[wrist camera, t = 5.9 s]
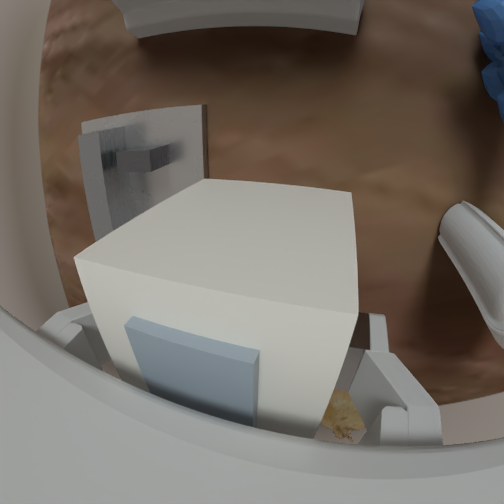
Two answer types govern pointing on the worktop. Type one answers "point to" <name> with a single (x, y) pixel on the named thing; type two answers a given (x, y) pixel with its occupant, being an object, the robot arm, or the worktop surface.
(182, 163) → the rail base
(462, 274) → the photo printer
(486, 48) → the grapes
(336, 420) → the onion
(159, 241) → the block
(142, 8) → the white toaster
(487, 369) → the worktop surface
